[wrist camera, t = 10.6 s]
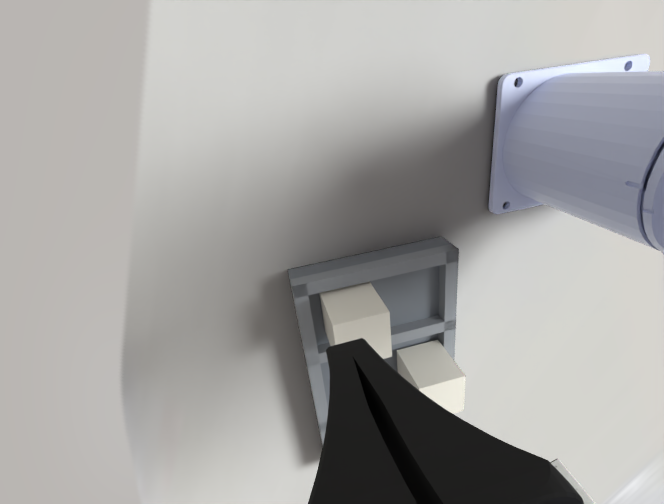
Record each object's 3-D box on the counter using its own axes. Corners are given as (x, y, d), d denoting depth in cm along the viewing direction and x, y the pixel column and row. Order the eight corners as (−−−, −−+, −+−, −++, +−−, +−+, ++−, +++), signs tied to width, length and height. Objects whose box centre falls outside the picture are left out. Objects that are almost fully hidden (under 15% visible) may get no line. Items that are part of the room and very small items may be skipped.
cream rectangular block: (437, 339, 25) (465, 375, 22) (437, 372, 27) (463, 410, 23) (396, 350, 25) (419, 389, 22) (398, 382, 26) (419, 423, 23)
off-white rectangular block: (368, 278, 22) (389, 311, 19) (371, 319, 23) (392, 356, 20) (318, 290, 21) (332, 325, 18) (325, 331, 23) (339, 370, 20)
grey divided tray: (442, 236, 24) (458, 249, 22) (438, 419, 31) (450, 439, 29) (287, 269, 22) (292, 286, 20) (323, 453, 30) (329, 477, 28)
